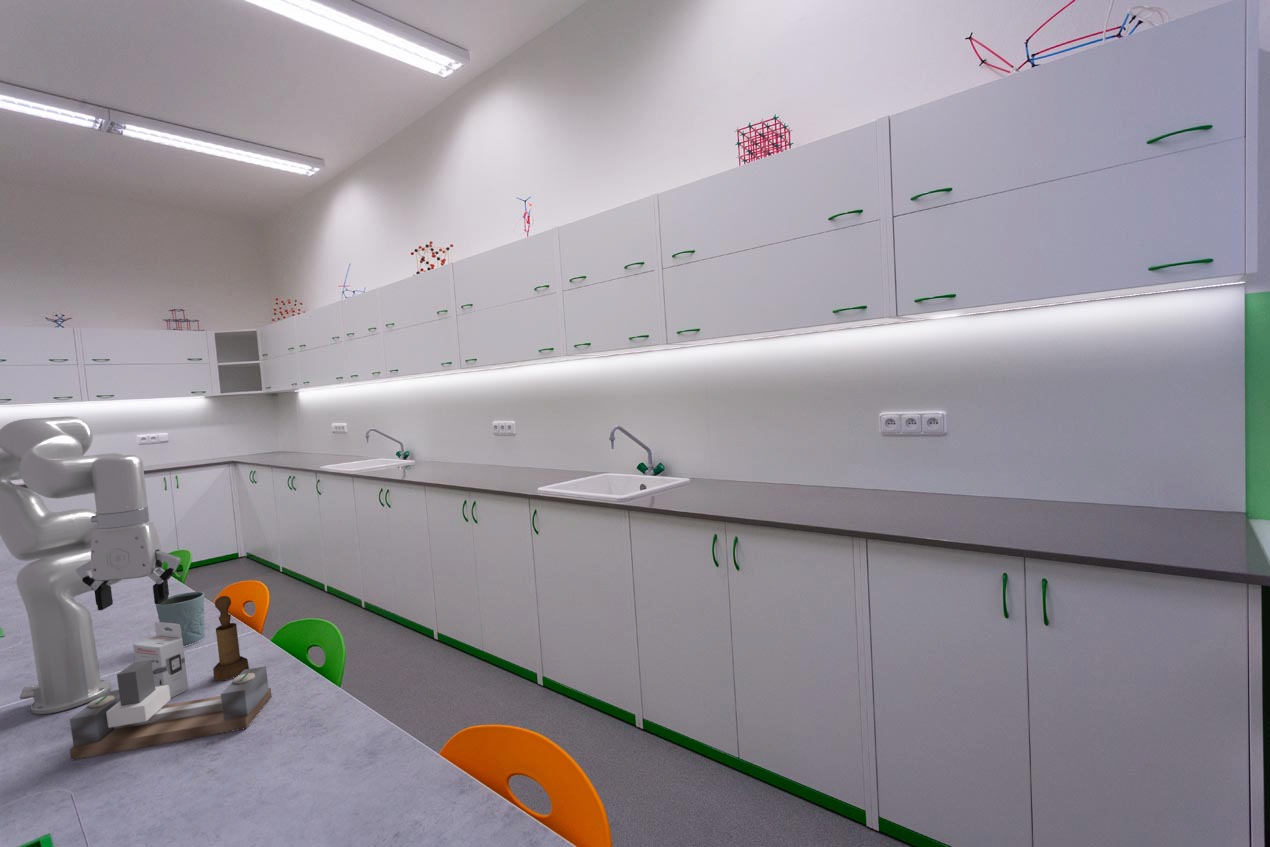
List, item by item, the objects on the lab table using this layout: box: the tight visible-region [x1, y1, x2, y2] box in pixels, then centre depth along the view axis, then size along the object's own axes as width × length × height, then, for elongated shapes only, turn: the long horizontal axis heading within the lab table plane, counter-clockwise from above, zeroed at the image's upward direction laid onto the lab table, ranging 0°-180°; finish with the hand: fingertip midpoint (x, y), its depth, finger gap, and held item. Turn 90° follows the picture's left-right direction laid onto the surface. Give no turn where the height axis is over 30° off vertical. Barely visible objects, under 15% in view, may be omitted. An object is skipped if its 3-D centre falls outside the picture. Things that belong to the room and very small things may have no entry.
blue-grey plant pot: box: [155, 591, 205, 646], centre depth 156 cm, size 10×10×12 cm
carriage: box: [106, 660, 172, 728], centre depth 111 cm, size 6×8×9 cm
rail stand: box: [69, 666, 273, 760], centre depth 113 cm, size 28×12×8 cm, turn 102°
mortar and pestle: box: [212, 595, 250, 682], centre depth 134 cm, size 7×6×18 cm
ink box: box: [132, 621, 189, 699], centre depth 127 cm, size 9×5×15 cm, turn 71°
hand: (133, 604), depth 115 cm, fingers open, 9 cm apart
